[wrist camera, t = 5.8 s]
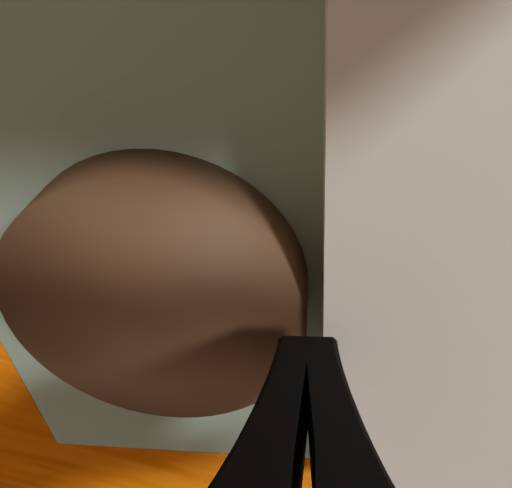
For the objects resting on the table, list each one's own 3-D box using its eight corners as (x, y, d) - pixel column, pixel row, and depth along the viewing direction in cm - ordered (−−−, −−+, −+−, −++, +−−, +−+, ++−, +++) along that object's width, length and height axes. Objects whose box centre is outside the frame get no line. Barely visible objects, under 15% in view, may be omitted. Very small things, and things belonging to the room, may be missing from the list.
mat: (320, 450, 21) (320, 459, 20) (61, 435, 22) (57, 443, 22) (325, -136, 9) (326, -137, 9) (-216, -82, 11) (-232, -82, 10)
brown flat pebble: (312, 373, 17) (311, 422, 16) (79, 368, 18) (56, 413, 17) (301, 139, 12) (299, 176, 10) (-21, 155, 13) (-68, 190, 12)
